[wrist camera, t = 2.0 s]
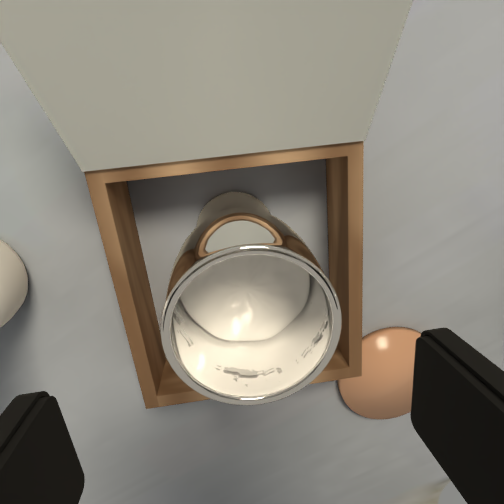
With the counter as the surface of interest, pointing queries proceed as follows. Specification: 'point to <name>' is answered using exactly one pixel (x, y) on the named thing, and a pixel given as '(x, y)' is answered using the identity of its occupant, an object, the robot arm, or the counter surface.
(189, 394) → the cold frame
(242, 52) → the propped lid
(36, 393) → the robot arm
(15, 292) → the bottle
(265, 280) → the beer glass
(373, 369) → the orange dish
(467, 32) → the counter surface
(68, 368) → the counter surface
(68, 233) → the counter surface
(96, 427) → the counter surface
